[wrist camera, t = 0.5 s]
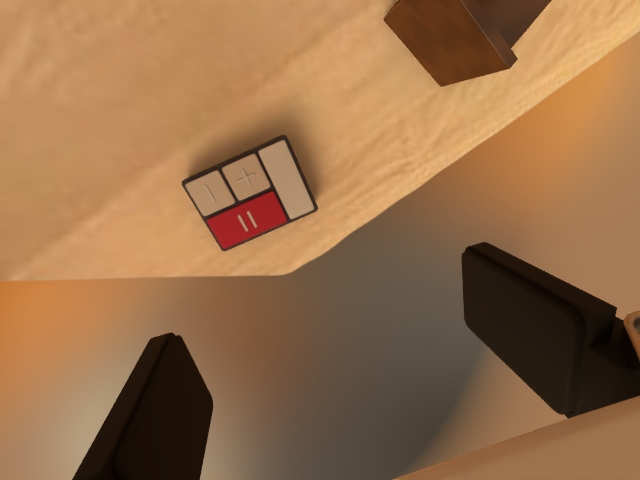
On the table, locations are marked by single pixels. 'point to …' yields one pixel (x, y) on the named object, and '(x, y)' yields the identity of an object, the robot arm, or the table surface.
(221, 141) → the table surface
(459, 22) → the shelf
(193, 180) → the calculator
